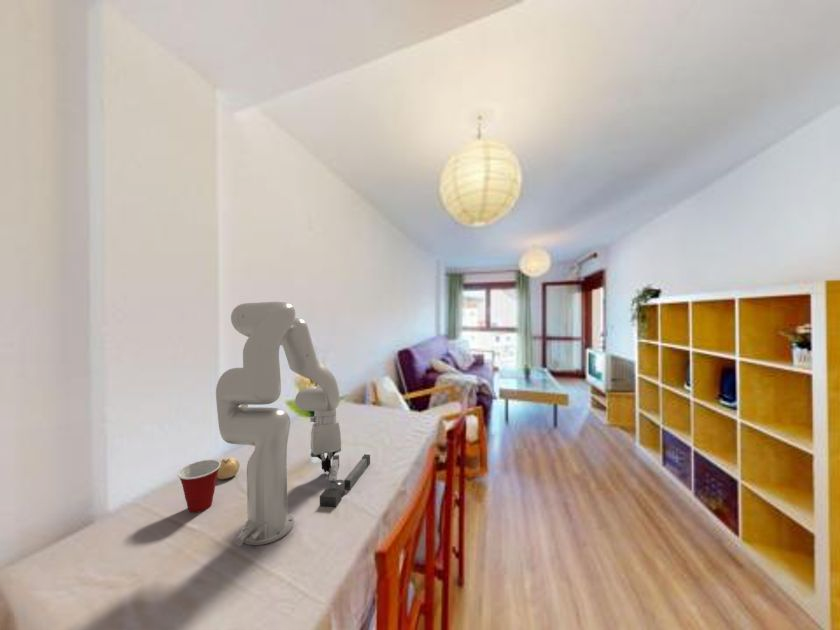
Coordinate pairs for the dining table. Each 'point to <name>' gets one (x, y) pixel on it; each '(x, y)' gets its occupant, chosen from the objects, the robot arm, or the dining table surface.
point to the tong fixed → (334, 496)
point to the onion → (228, 468)
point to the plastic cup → (199, 483)
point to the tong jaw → (333, 481)
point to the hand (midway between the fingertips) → (326, 470)
